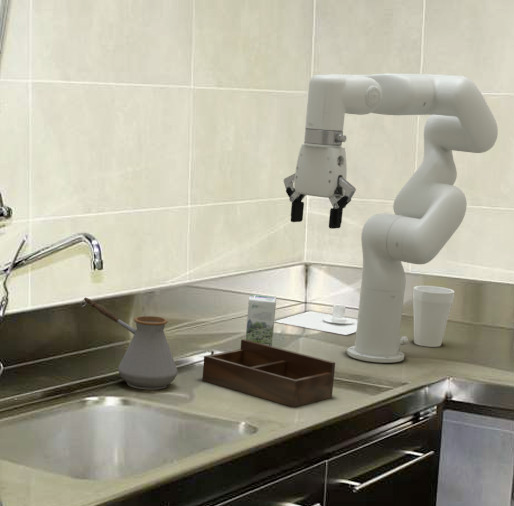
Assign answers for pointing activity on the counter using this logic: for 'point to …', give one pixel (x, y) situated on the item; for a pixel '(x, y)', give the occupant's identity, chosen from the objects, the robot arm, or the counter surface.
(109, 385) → the counter surface
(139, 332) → the coffee pot
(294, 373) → the compartment tray
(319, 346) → the counter surface
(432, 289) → the foam cup
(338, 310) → the teacup and saucer
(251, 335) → the tea packet
